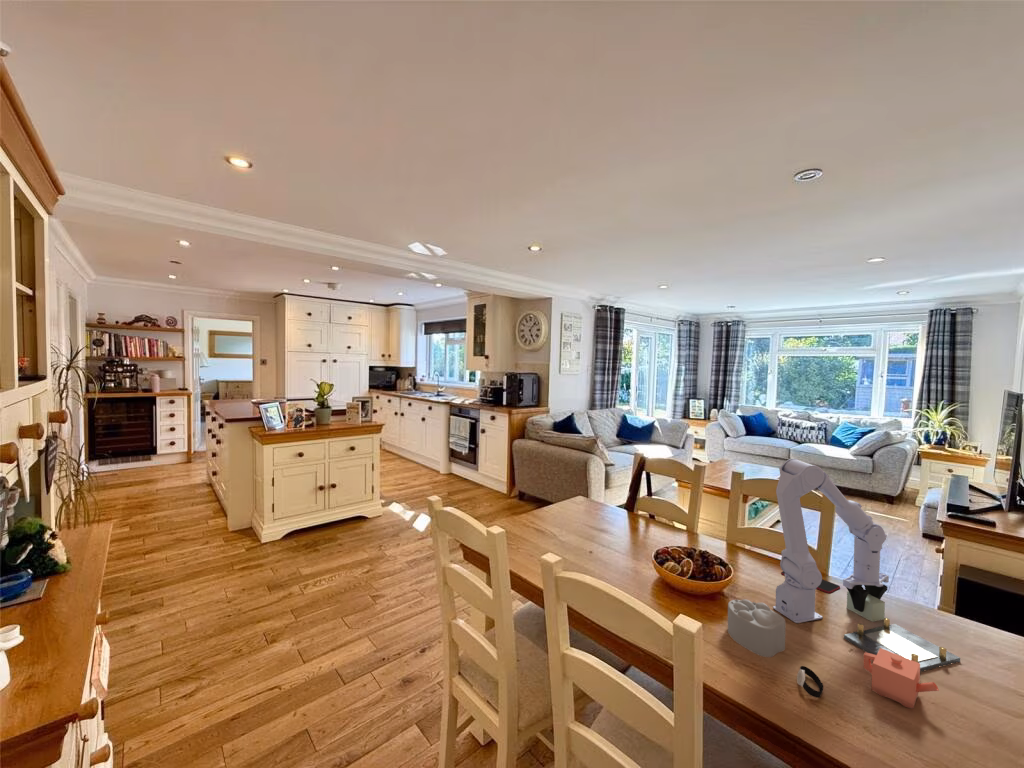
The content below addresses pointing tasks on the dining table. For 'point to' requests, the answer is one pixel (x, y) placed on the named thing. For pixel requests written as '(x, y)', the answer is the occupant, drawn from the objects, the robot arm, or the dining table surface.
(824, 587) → the smartphone
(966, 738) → the dining table surface
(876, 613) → the board block
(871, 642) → the chassis
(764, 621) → the lumpy-topped squat cylinder
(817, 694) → the watch
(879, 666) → the pink cube teapot
